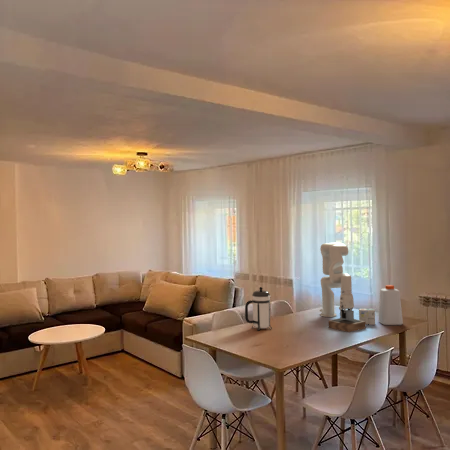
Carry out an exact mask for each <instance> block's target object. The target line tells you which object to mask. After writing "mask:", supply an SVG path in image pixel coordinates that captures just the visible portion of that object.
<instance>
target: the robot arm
mask: <svg viewBox="0 0 450 450" xmlns="http://www.w3.org/2000/svg"><path fill="white" fill-rule="evenodd" d="M319 250H320V254H321V256H322V274H323V275H325V276H323V277H322V278H320V285H321V286H320V287H321V304H322V305H321V307H322V308H320V309H319V312H320V316H321V317H324V318H326V317H327V318H333V317H334V318H335V317H337V313H335V293H334V291H333V290H332V289H340V296H339V307H338V309H339V312H340V311H341V312H342V318H345V319H346V313H345V311H346V309H347V310H352V311H353V309H354V307H355V303H354V302H355V301H354V295H353V293H352V292H353V291H352V289H353V288H352V286H353V285H352V275H350V274H349V273H347V272H344V268H343V264H344V259H343V257H344V256H348V254H349V248H348V246H347V245H346V244H344V243H343V242H329V243H328V242H326V243H325V242H324V243H322V244H321V245H320V249H319ZM343 309H344V310H343Z"/></svg>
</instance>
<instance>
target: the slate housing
mask: <svg viewBox="0 0 450 450" xmlns="http://www.w3.org/2000/svg"><path fill="white" fill-rule="evenodd" d="M343 310H344V309H343ZM345 313H346V319H345V318H342V312H341V311H340V310H339V317H340V318H341V319H345V320H353V319H355V317H354V316H355V314H354V313H355V312H354V310H353V309H352V310H348V309H346V311H345Z"/></svg>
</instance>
